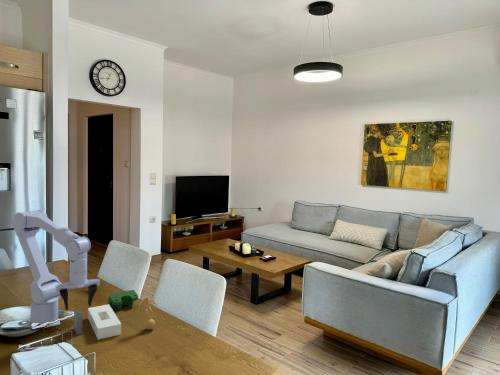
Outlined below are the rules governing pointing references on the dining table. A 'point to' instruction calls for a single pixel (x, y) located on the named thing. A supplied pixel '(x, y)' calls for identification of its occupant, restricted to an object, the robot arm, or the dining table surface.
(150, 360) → the dining table surface
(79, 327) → the bracket
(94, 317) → the white slotted block
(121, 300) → the clamp
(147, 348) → the dining table surface
